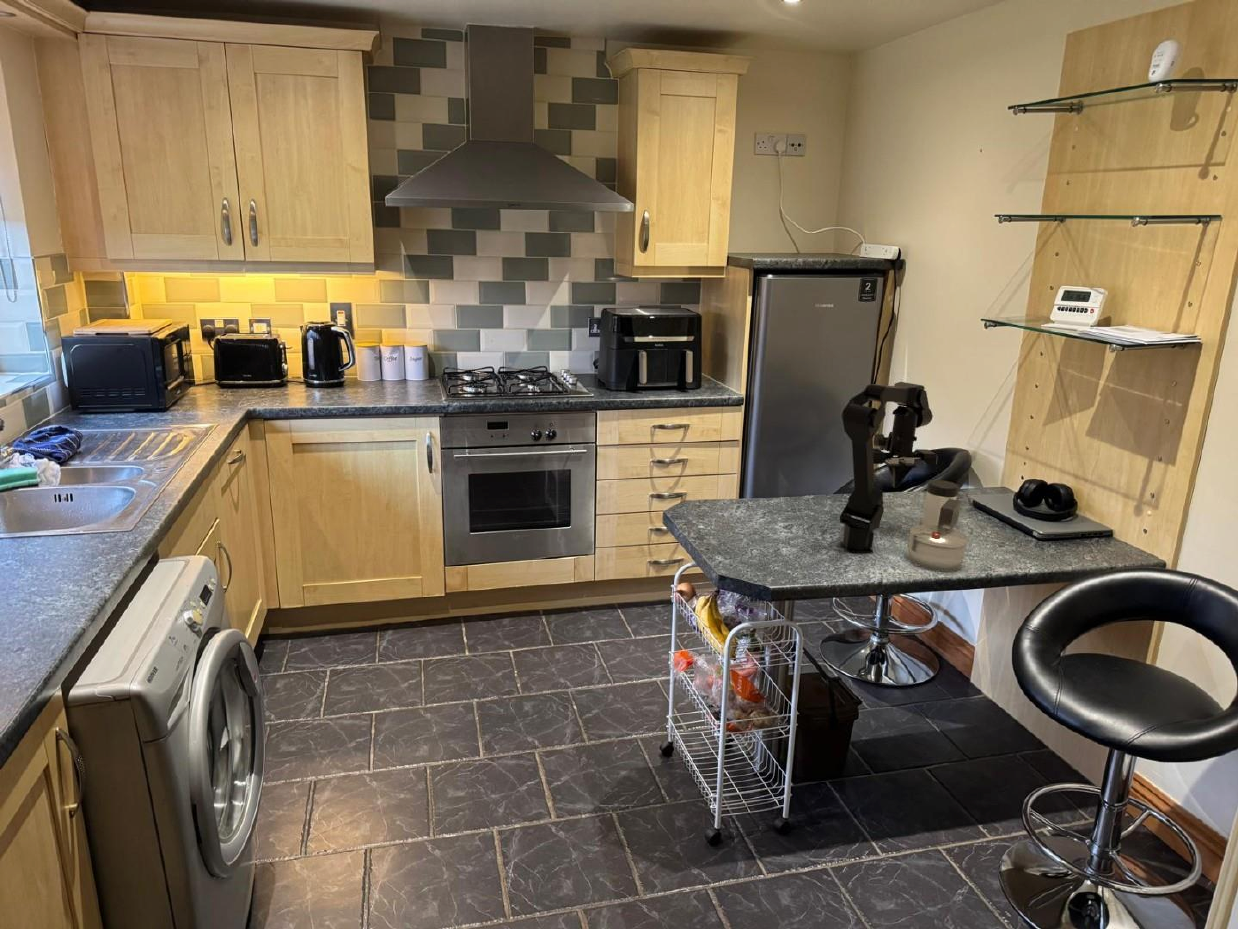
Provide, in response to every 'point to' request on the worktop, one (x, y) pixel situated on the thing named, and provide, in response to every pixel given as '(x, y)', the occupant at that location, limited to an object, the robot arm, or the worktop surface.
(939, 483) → the jar
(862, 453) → the robot arm
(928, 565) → the cooker pot
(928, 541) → the cooker lid
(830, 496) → the worktop surface
